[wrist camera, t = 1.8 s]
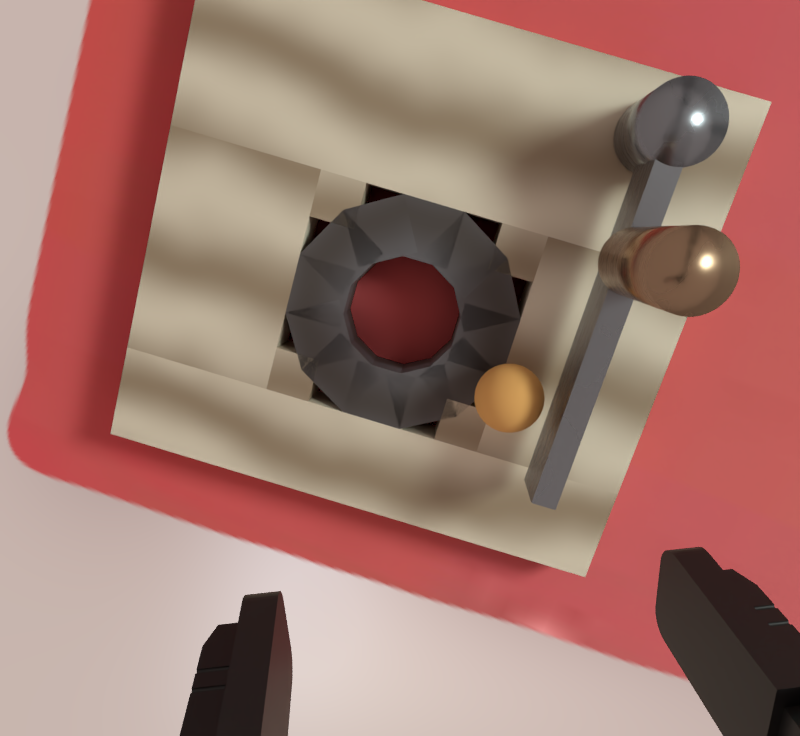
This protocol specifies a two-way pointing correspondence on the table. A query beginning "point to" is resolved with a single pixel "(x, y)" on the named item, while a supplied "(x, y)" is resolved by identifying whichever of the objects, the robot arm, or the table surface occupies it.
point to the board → (390, 238)
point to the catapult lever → (640, 261)
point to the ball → (509, 398)
